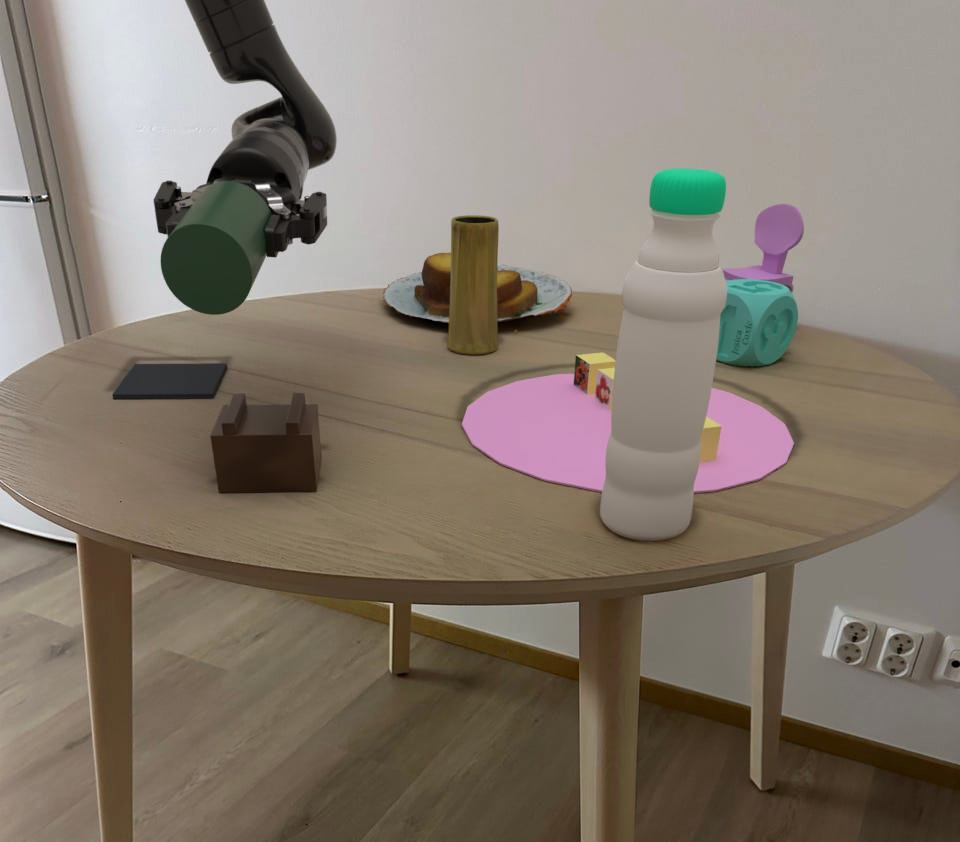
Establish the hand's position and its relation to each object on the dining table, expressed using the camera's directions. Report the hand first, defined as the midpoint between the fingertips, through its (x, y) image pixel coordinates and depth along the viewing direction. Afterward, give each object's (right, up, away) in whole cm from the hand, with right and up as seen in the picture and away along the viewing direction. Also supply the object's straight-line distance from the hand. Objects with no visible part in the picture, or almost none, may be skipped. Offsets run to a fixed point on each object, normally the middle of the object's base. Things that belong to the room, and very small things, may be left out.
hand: (224, 240), depth 71 cm
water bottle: (+33, -22, +2) cm, 39 cm away
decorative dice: (+51, +3, +39) cm, 64 cm away
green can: (0, -1, -1) cm, 1 cm away
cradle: (+2, -16, +8) cm, 19 cm away
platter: (+34, -10, +20) cm, 40 cm away
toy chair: (+54, +9, +48) cm, 73 cm away
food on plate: (+19, +14, +55) cm, 60 cm away
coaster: (-13, -3, +27) cm, 31 cm away
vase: (+19, +4, +40) cm, 44 cm away
